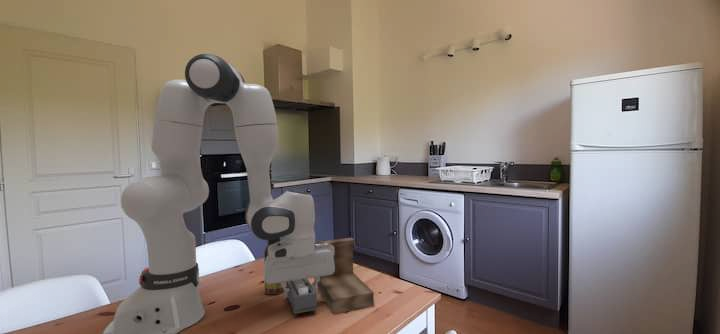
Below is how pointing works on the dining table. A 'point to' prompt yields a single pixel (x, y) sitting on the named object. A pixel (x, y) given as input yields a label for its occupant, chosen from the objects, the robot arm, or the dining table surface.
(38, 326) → the dining table surface
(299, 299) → the grey egg holder
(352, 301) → the walnut shelf
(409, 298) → the dining table surface
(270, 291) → the sauce bottle
